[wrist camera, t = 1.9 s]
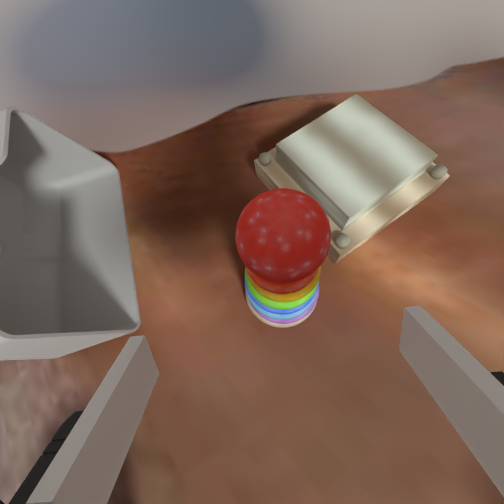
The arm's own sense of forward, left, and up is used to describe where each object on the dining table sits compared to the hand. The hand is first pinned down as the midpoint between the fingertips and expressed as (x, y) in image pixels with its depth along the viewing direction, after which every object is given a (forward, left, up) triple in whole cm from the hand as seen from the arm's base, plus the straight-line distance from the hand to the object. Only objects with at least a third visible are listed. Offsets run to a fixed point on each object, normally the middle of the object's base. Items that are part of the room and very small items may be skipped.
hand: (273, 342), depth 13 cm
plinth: (-19, -11, -15) cm, 27 cm away
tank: (+16, -24, -15) cm, 33 cm away
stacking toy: (-4, -4, -15) cm, 16 cm away
